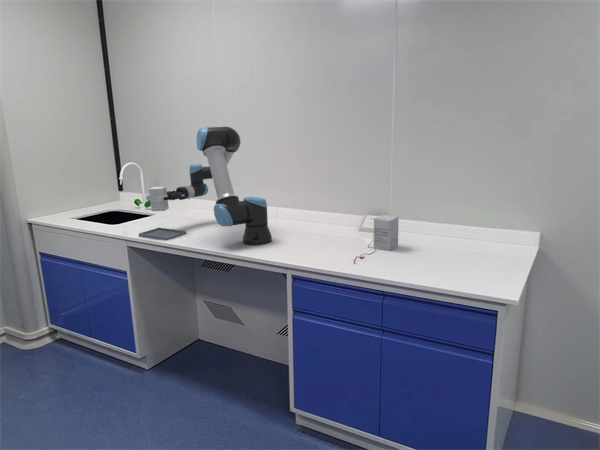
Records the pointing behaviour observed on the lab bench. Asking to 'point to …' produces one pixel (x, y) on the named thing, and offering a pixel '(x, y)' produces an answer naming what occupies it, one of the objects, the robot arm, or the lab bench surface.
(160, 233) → the tray
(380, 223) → the supplement box
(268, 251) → the lab bench surface
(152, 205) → the supplement box
